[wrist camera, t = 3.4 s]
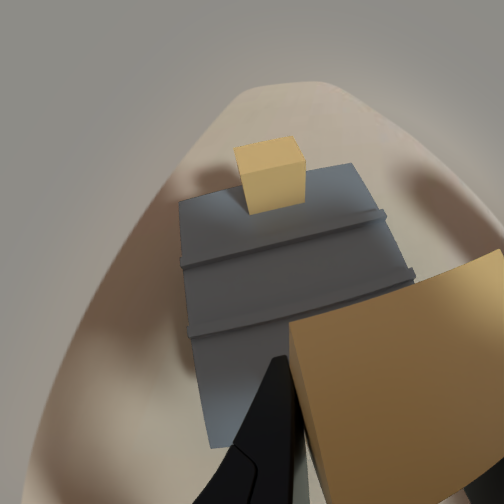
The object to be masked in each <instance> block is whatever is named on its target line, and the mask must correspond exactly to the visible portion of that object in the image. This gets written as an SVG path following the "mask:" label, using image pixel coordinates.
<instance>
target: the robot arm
mask: <svg viewBox="0 0 504 504" xmlns="http://www.w3.org/2000/svg"><path fill="white" fill-rule="evenodd" d="M232 444H233V445H231V446H230V448H229V450H228V451H227V453H226V455H225V457H224V459H223V461H222V462H221V464H220V466H219V468H218V469H217V471H216V473H215V474H214V475H213V477H212V478H211V480H210V481H209V482H208V484H207V485H206V487H205V488H204V489H203V491H202V492H201V493H200V494H199V496H198V497H197V498H196V499H195V501H194V502H193V503H192V504H310V500H309V484H308V471H307V458H306V446H305V435H304V427H303V422H302V418H301V413H300V408H299V404H298V399H297V394H296V390H295V385H294V381H293V377H292V374H291V370H290V366H289V361H288V357H287V355H281V356H276V357H273V358H272V359H271V361H270V364H269V366H268V368H267V370H266V373H265V375H264V377H263V379H262V382H261V384H260V386H259V388H258V390H257V392H256V395H255V397H254V399H253V401H252V403H251V405H250V407H249V410H248V412H247V414H246V416H245V418H244V420H243V422H242V424H241V426H240V428H239V430H238V432H237V434H236V436H235V438H234V440H233V442H232ZM464 491H465V493H466V495H467V497H468V499H469V501H470V503H471V504H504V457H503V458H502V459H501V460H500V461H498V462H497V463H496V464H495V465H493V466H492V467H491V468H490V469H488V470H487V471H486V472H485V473H483V474H482V475H481V476H479V477H478V478H477V479H475V480H474V481H472V482H471V483H470V484H468V485H467V486H465V487H464Z"/></svg>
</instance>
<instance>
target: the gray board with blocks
mask: <svg viewBox="0 0 504 504" xmlns="http://www.w3.org/2000/svg"><path fill="white" fill-rule="evenodd" d="M233 149H234V153H235V157H236V161H237V166H238V170H239V174H240V178H241V183H242V185H241V186H237V187H233V188H229V189H225V190H221V191H217V192H213V193H209V194H206V195H202V196H198V197H195V198H191V199H187V200H184V201H180V202H179V220H180V236H181V250H182V257H180V267H181V268H182V269H183V274H184V284H185V294H186V303H187V312H188V320H189V326H187V334H188V338H190V339H191V343H192V350H193V357H194V363H195V370H196V376H197V382H198V388H199V393H200V399H201V404H202V410H203V415H204V420H205V425H206V430H207V434H208V439H209V444H210V448H211V449H213V448H223V447H230V446H231V445H233V444H232V442H233V440H234V438H235V436H236V434H237V432H238V430H239V428H240V426H241V424H242V422H243V420H244V418H245V416H246V414H247V412H248V410H249V407H250V405H251V403H252V401H253V399H254V397H255V395H256V392H257V390H258V388H259V386H260V384H261V382H262V379H263V377H264V375H265V373H266V370H267V368H268V366H269V364H270V361H271V359H272V358H273V357H276V356H281V355H287V357H288V361H289V366H290V370H291V374H292V377H293V381H294V385H295V390H296V394H297V399H298V404H299V408H300V413H301V418H302V422H303V427H304V435H305V441H306V444H307V447H308V450H309V453H310V456H311V459H312V462H313V465H314V468H315V471H316V474H317V477H318V480H319V483H320V486H321V488H322V491H323V494H324V497H325V500H326V503H327V504H438V503H440V502H441V501H443V500H445V499H446V498H448V497H450V496H451V495H453V494H454V493H456V492H458V491H459V490H461V489H462V488H464V487H465V486H467V485H468V484H470V483H471V482H472V481H474V480H475V479H477V478H478V477H479V476H481V475H482V474H483V473H485V472H486V471H487V470H488V469H490V468H491V467H492V466H493V465H495V464H496V463H497V462H498V461H500V460H501V459H502V458H503V457H504V256H503V254H502V252H501V250H500V248H499V249H497V250H495V251H493V252H491V253H489V254H486V255H484V256H482V257H480V258H478V259H475V260H473V261H471V262H468V263H466V264H464V265H461V266H459V267H456V268H454V269H452V270H449V271H447V272H444V273H442V274H439V275H437V276H434V277H431V278H429V279H426V280H423V281H421V282H418V283H414V281H413V280H414V279H415V278H416V275H415V273H414V270H413V268H409V269H408V267H407V265H406V263H405V260H404V258H403V256H402V254H401V252H400V250H399V248H398V245H397V243H396V241H395V239H394V237H393V235H392V233H391V231H390V229H389V227H388V225H387V224H386V222H385V220H386V218H387V215H386V214H385V212H384V210H383V209H380V210H379V209H378V207H377V205H376V203H375V201H374V200H373V198H372V196H371V194H370V193H369V191H368V189H367V187H366V186H365V184H364V182H363V181H362V179H361V177H360V176H359V174H358V172H357V171H356V169H355V168H354V166H353V164H352V163H348V164H342V165H336V166H331V167H325V168H320V169H315V170H310V171H306V160H305V158H304V156H303V154H302V152H301V151H300V149H299V147H298V145H297V143H296V141H295V139H294V137H293V136H288V137H283V138H278V139H273V140H268V141H263V142H258V143H253V144H249V145H245V146H240V147H236V148H233Z"/></svg>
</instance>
